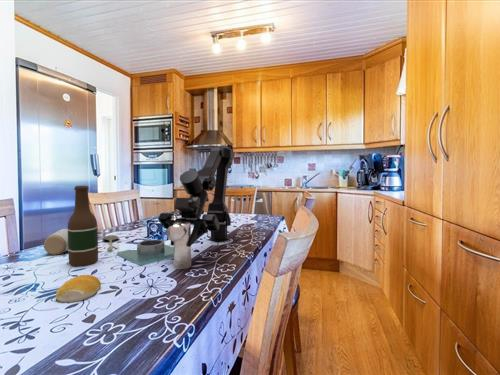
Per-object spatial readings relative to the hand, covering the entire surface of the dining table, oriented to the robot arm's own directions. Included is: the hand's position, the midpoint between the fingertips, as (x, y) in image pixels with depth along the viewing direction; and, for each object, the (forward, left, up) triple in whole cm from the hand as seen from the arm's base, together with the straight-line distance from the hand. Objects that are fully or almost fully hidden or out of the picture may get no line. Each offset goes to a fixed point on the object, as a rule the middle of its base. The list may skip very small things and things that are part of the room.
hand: (180, 245), depth 78 cm
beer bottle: (+17, -27, -7) cm, 32 cm away
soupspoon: (+2, -43, -7) cm, 43 cm away
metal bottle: (0, 0, -7) cm, 7 cm away
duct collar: (-1, -19, -7) cm, 20 cm away
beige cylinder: (+17, -45, -7) cm, 48 cm away
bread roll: (+25, -4, -7) cm, 26 cm away
